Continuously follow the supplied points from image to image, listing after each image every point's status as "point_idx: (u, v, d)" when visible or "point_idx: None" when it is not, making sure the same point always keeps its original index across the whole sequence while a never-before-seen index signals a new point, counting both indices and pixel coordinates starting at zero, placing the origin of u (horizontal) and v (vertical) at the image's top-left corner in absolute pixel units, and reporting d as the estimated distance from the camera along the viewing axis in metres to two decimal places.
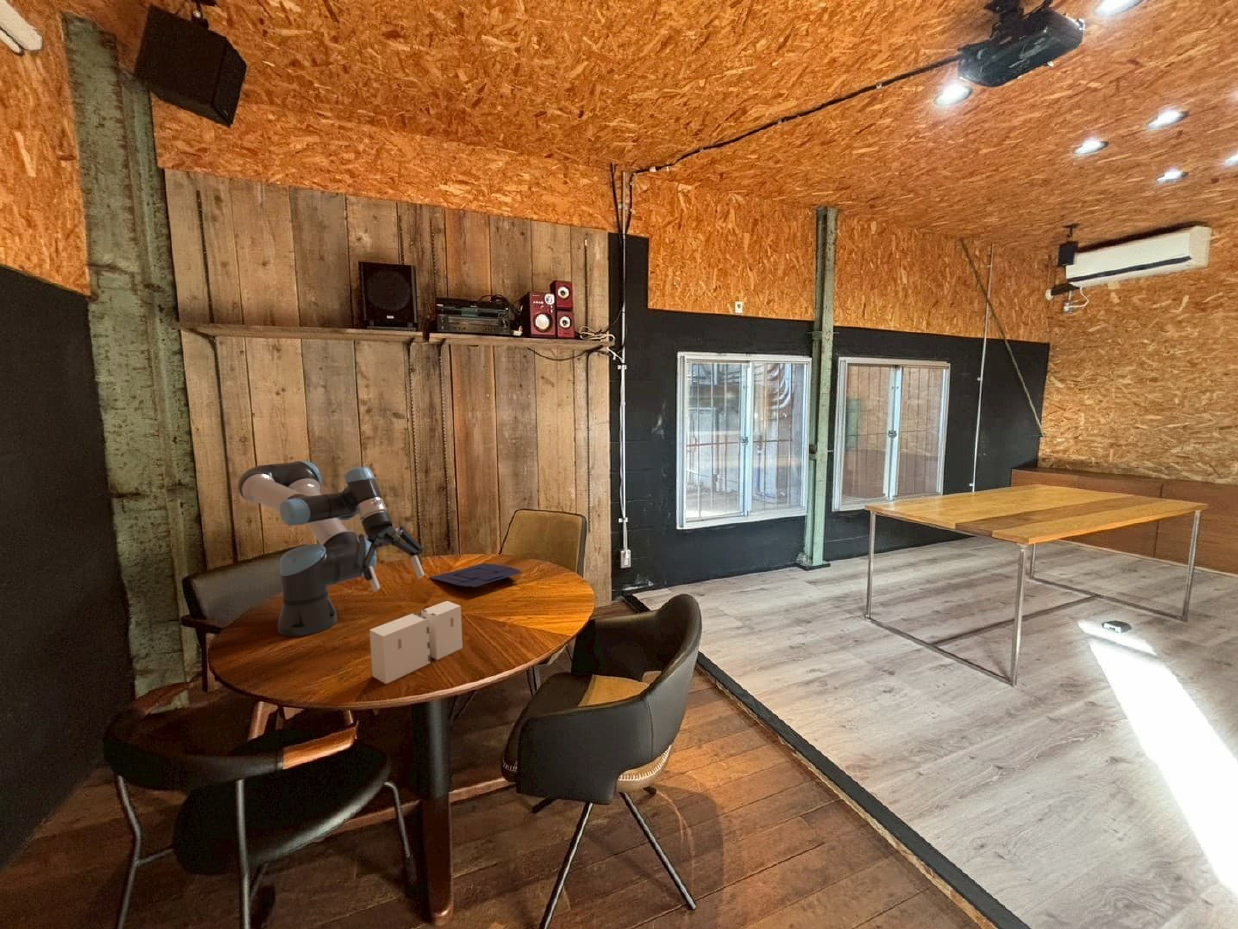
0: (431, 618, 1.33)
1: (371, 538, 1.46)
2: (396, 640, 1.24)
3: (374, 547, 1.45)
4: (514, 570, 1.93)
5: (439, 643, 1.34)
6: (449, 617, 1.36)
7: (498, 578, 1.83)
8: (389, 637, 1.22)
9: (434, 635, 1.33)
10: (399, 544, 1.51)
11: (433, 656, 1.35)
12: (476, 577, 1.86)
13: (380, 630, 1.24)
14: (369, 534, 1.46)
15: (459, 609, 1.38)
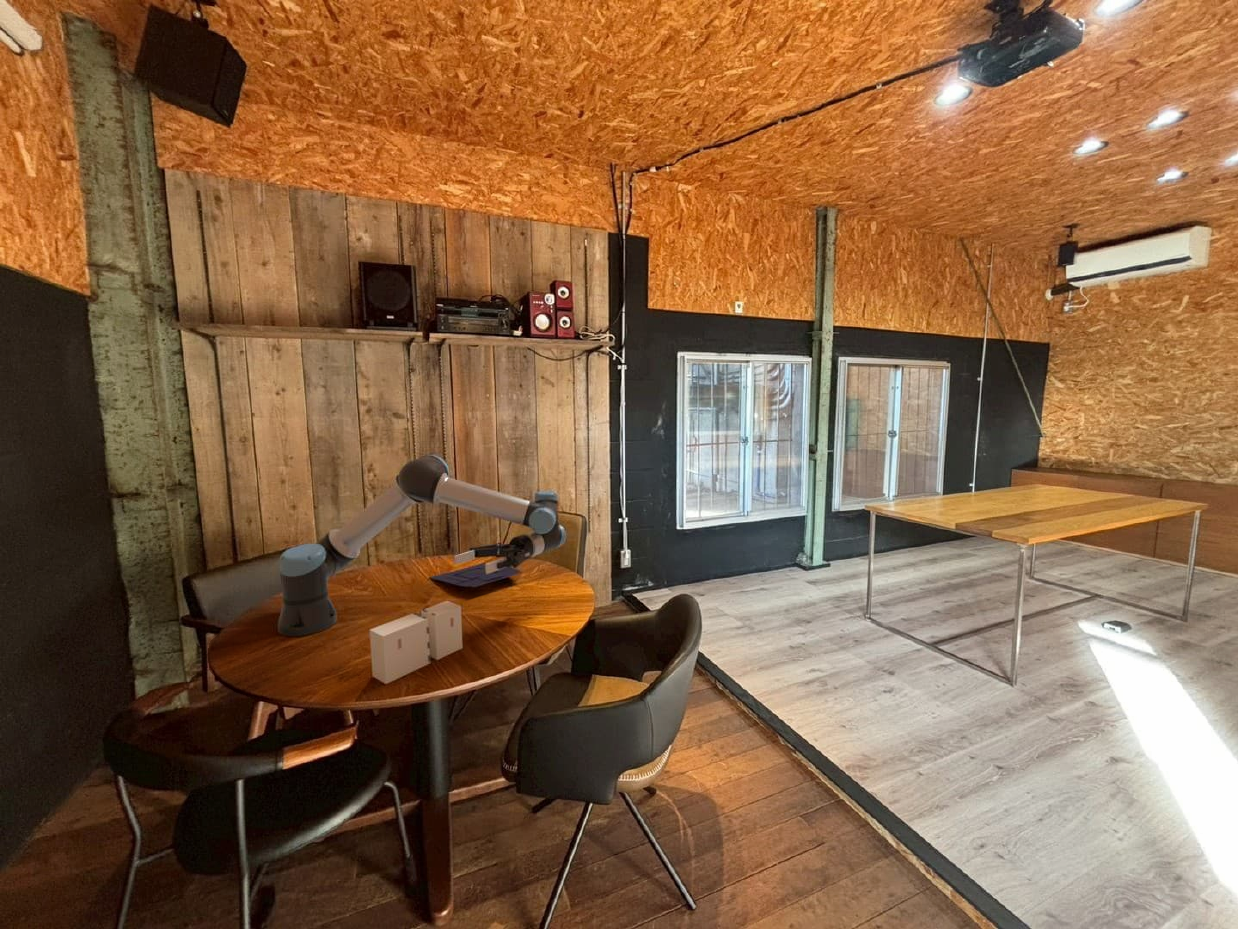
0: (431, 618, 1.33)
1: None
2: (396, 640, 1.24)
3: None
4: (514, 570, 1.93)
5: (439, 643, 1.34)
6: (449, 617, 1.36)
7: (498, 578, 1.83)
8: (389, 637, 1.22)
9: (434, 635, 1.33)
10: (492, 554, 1.55)
11: (433, 656, 1.35)
12: (476, 577, 1.86)
13: (380, 630, 1.24)
14: None
15: (459, 609, 1.38)
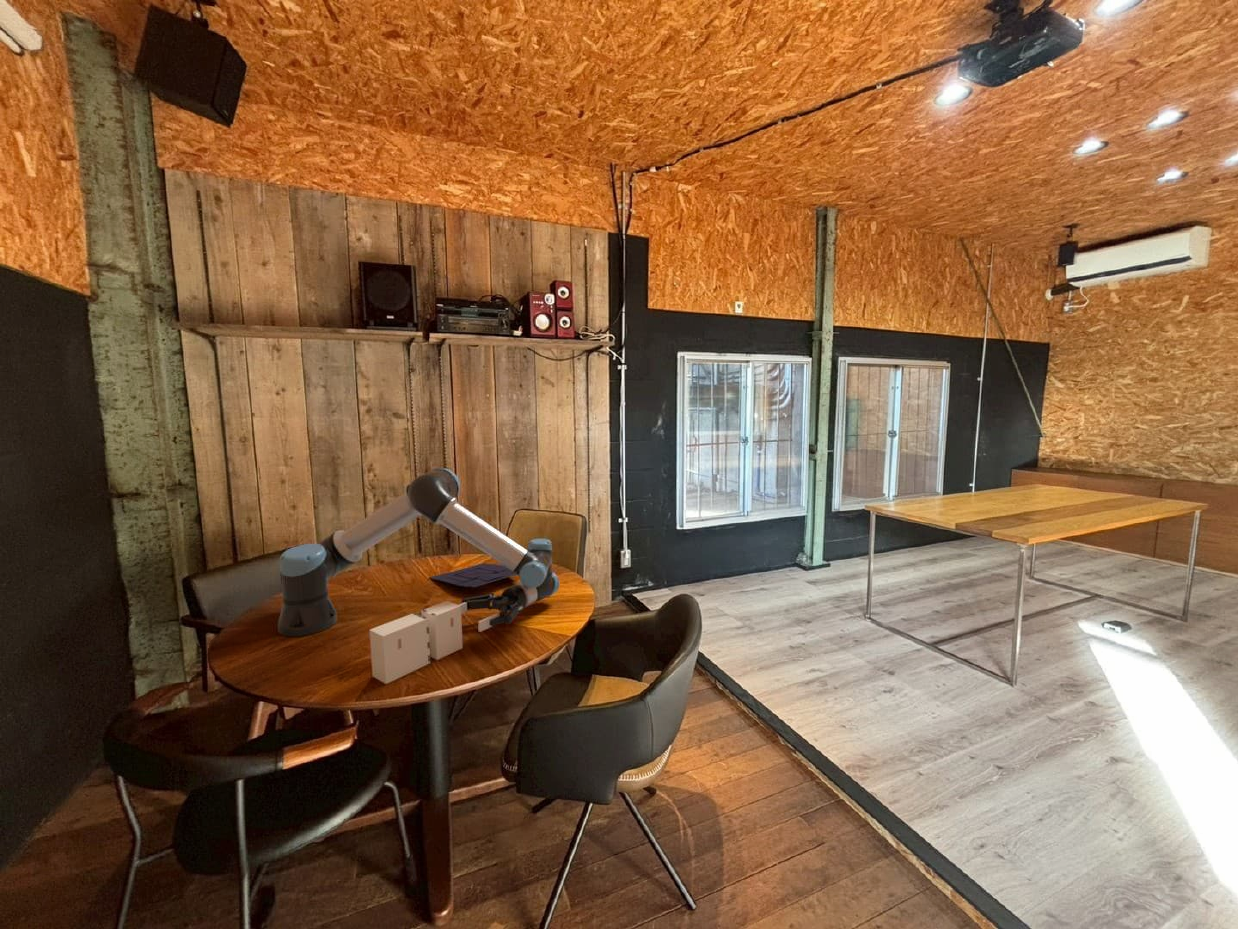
0: (431, 618, 1.33)
1: (511, 609, 1.52)
2: (396, 640, 1.24)
3: None
4: None
5: (439, 643, 1.34)
6: (449, 617, 1.36)
7: (498, 578, 1.83)
8: (389, 637, 1.22)
9: (434, 635, 1.33)
10: (485, 606, 1.54)
11: (433, 656, 1.35)
12: (476, 577, 1.86)
13: (380, 630, 1.24)
14: None
15: (459, 609, 1.38)
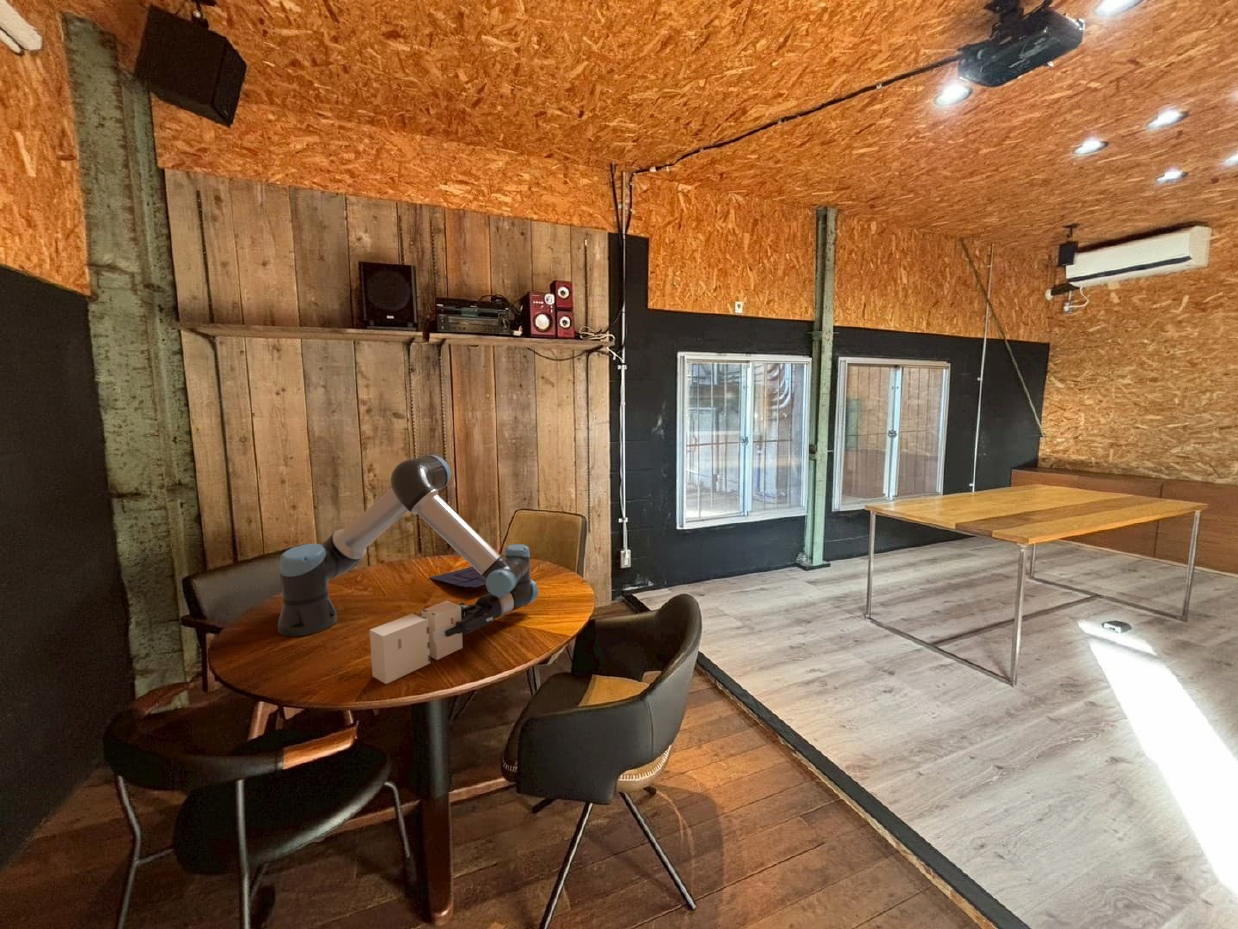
0: (431, 618, 1.33)
1: None
2: (396, 640, 1.24)
3: None
4: None
5: (439, 643, 1.34)
6: (449, 617, 1.36)
7: None
8: (389, 637, 1.22)
9: None
10: None
11: (433, 656, 1.35)
12: (476, 577, 1.86)
13: (380, 630, 1.24)
14: None
15: (459, 609, 1.38)
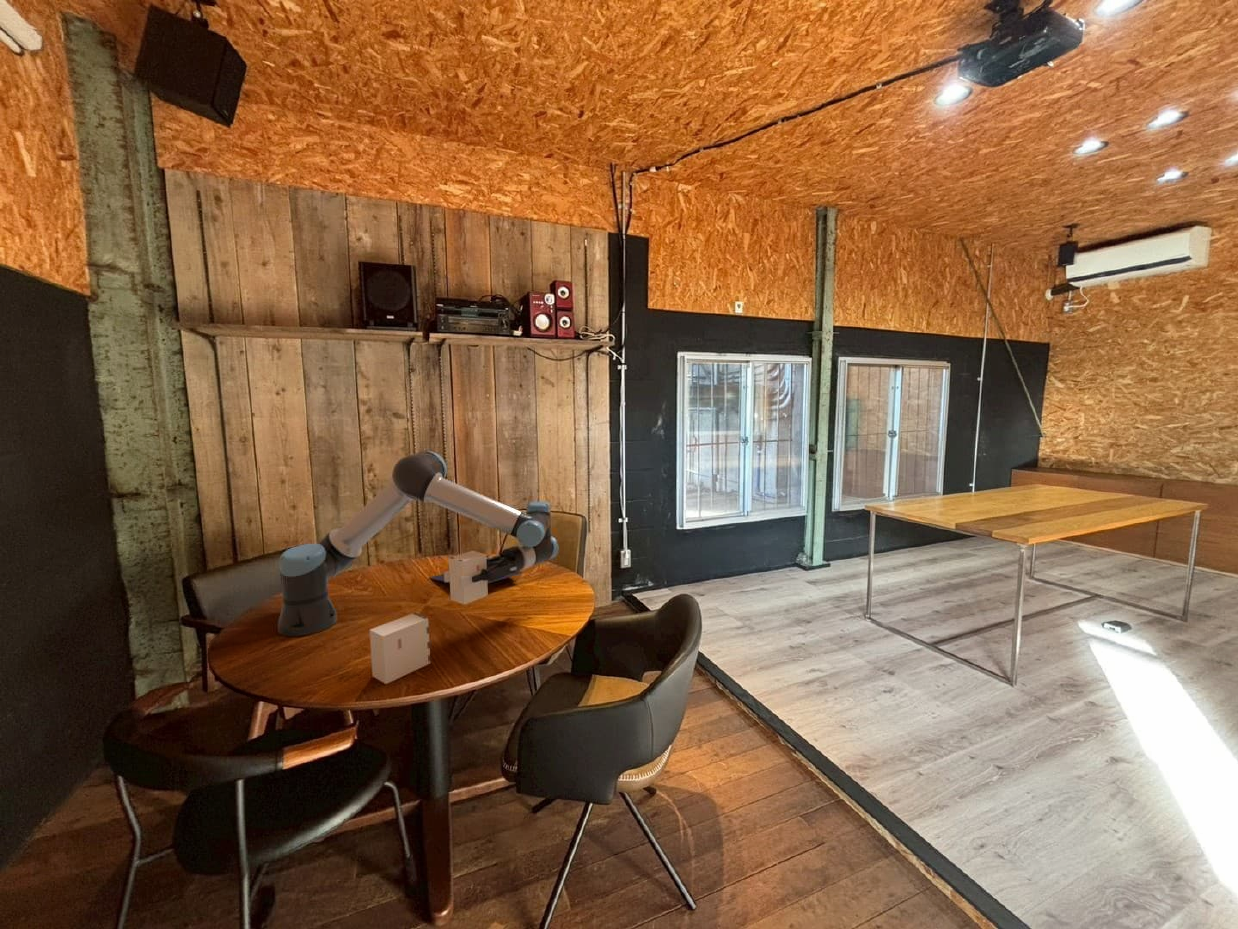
0: (458, 564, 1.39)
1: None
2: (396, 640, 1.24)
3: None
4: None
5: (466, 589, 1.40)
6: (475, 564, 1.41)
7: (498, 578, 1.83)
8: (389, 637, 1.22)
9: None
10: None
11: (460, 601, 1.40)
12: None
13: (380, 630, 1.24)
14: None
15: (484, 557, 1.44)
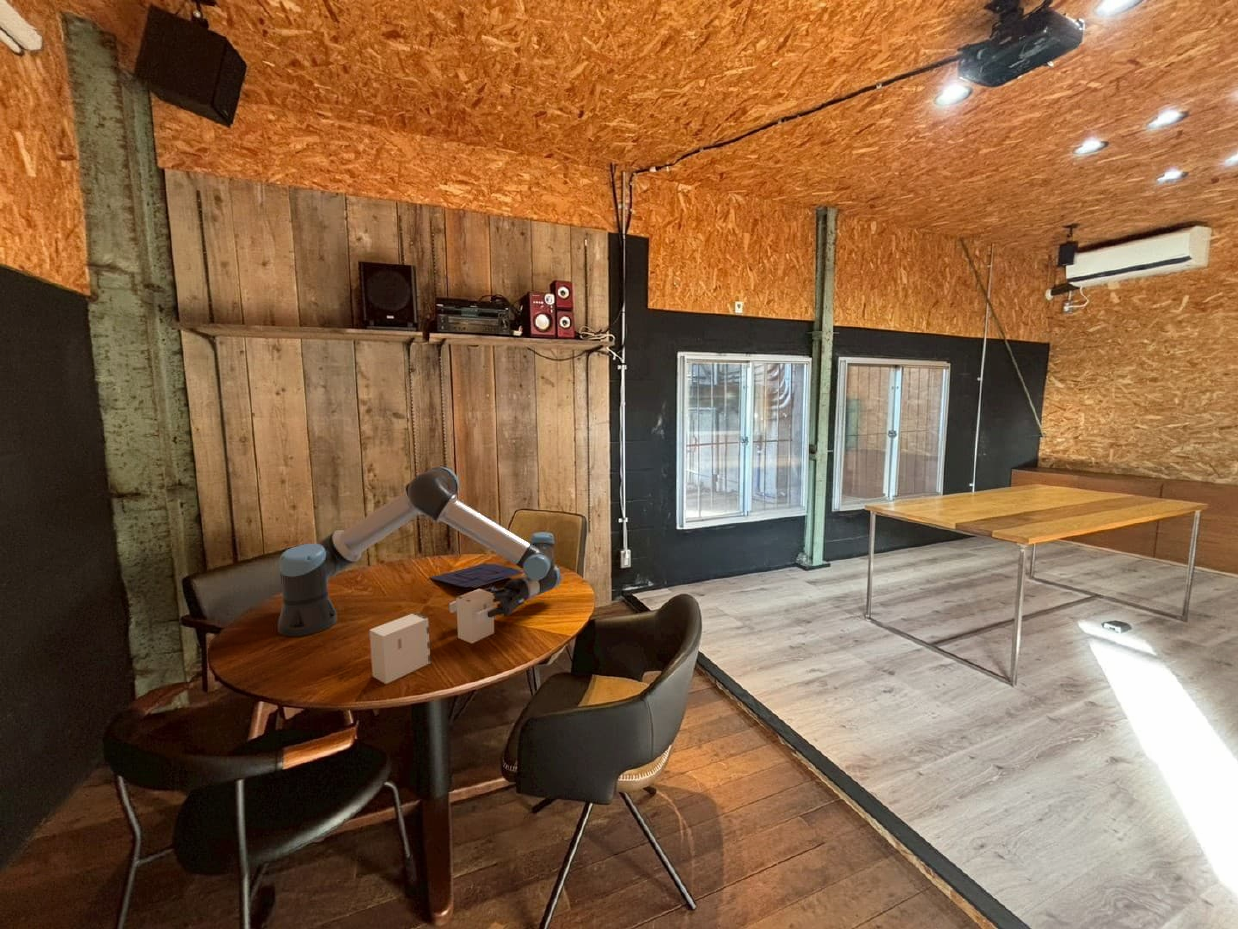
0: (466, 604, 1.42)
1: None
2: (396, 640, 1.24)
3: None
4: (514, 571, 1.92)
5: (474, 628, 1.43)
6: (482, 603, 1.45)
7: (498, 579, 1.83)
8: (389, 637, 1.22)
9: (469, 620, 1.42)
10: None
11: (468, 640, 1.43)
12: (476, 577, 1.86)
13: (380, 630, 1.24)
14: None
15: (491, 596, 1.47)
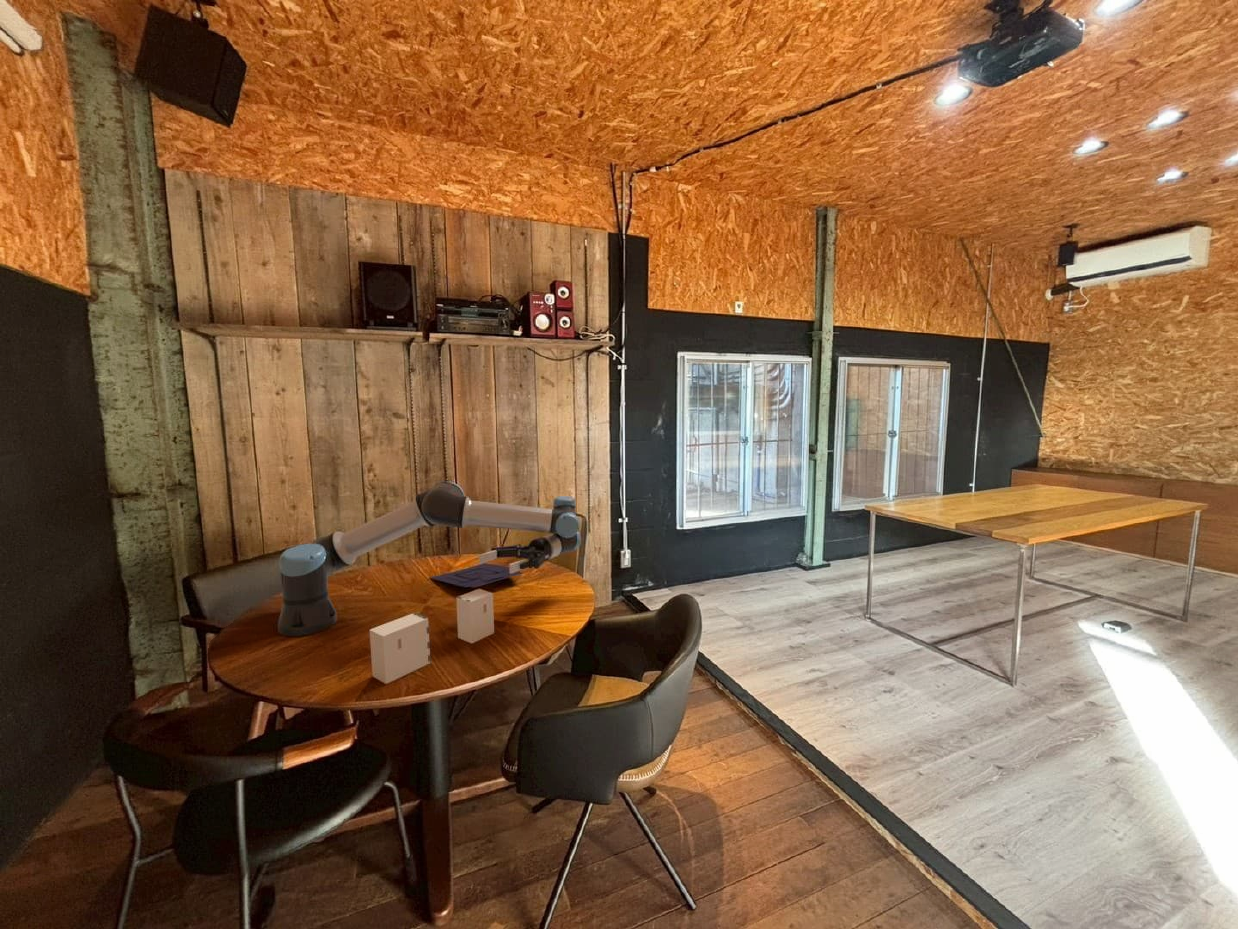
0: (466, 604, 1.42)
1: None
2: (396, 640, 1.24)
3: None
4: None
5: (474, 628, 1.43)
6: (482, 603, 1.45)
7: (498, 579, 1.83)
8: (389, 637, 1.22)
9: (469, 620, 1.42)
10: (513, 555, 1.64)
11: (468, 640, 1.43)
12: (476, 577, 1.86)
13: (380, 630, 1.24)
14: None
15: (491, 596, 1.47)
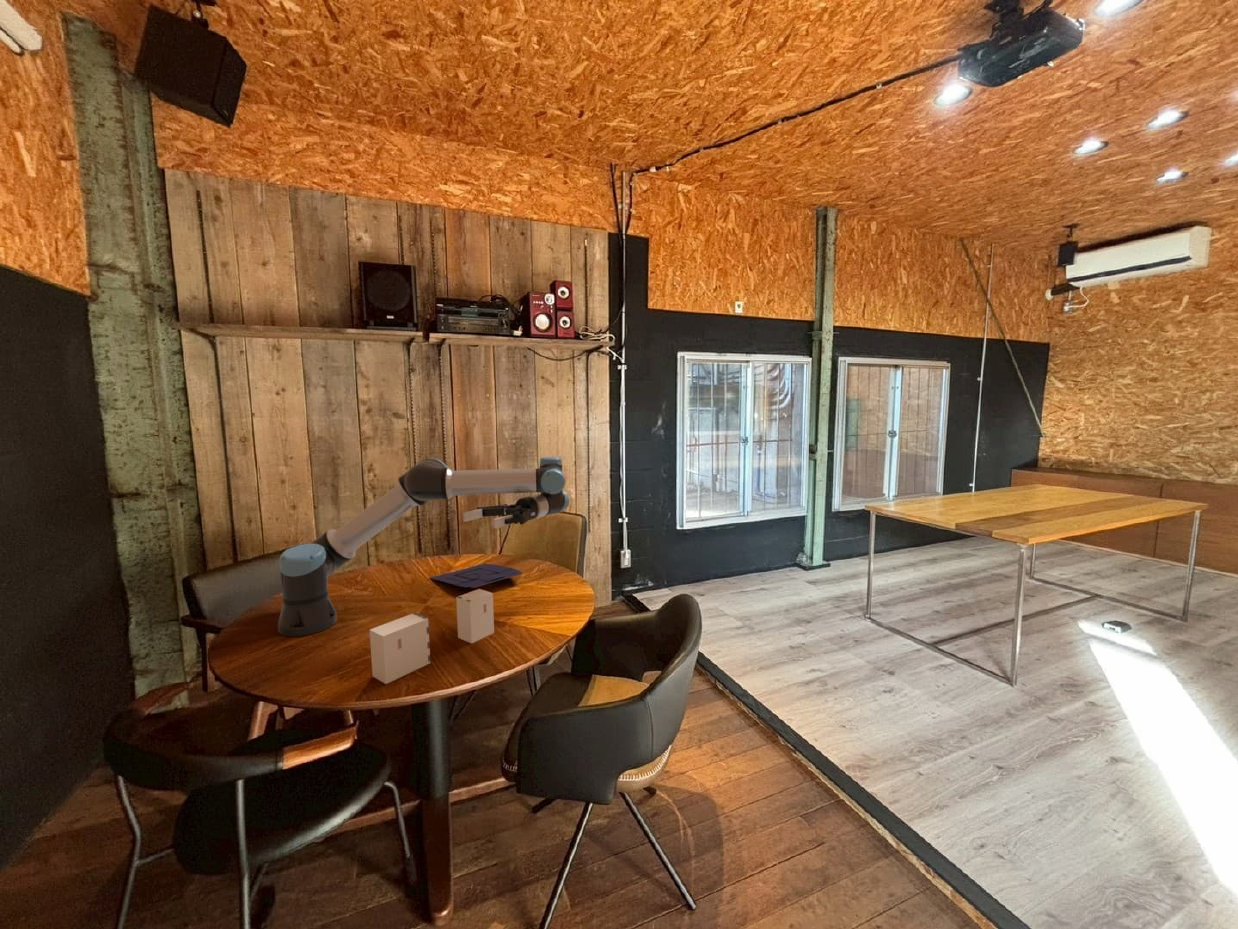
0: (466, 605, 1.42)
1: None
2: (396, 640, 1.24)
3: None
4: (515, 571, 1.92)
5: (474, 628, 1.43)
6: (482, 603, 1.45)
7: (498, 579, 1.82)
8: (389, 637, 1.22)
9: (469, 620, 1.42)
10: (499, 513, 1.61)
11: (468, 640, 1.43)
12: (476, 578, 1.86)
13: (380, 630, 1.24)
14: None
15: (491, 596, 1.47)
